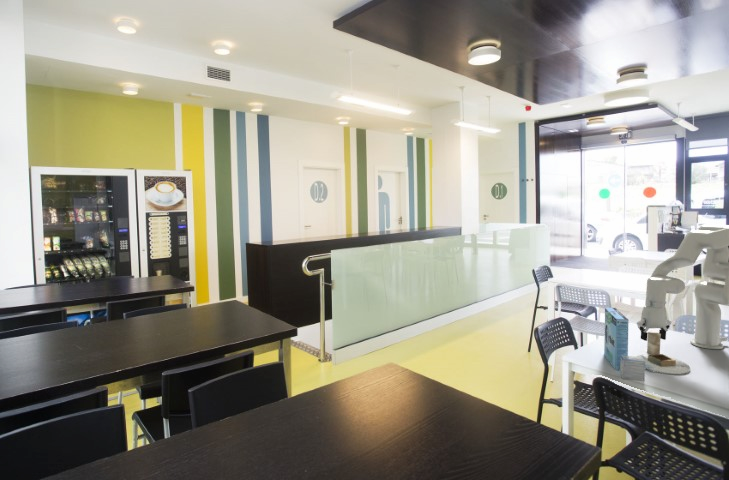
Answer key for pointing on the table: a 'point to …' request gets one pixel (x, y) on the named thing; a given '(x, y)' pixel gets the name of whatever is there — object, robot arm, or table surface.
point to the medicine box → (632, 368)
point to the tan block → (653, 343)
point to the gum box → (615, 336)
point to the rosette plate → (665, 364)
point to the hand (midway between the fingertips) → (653, 339)
